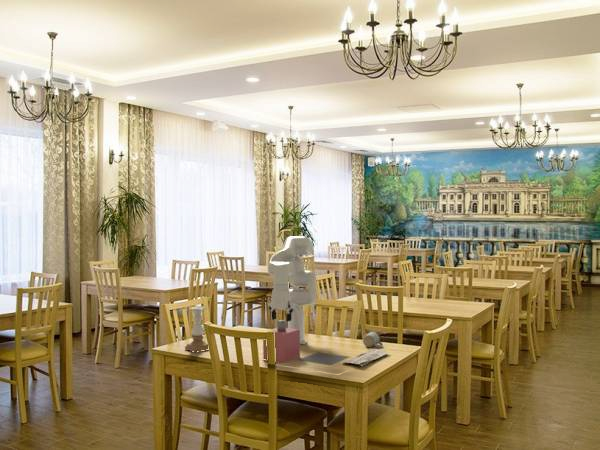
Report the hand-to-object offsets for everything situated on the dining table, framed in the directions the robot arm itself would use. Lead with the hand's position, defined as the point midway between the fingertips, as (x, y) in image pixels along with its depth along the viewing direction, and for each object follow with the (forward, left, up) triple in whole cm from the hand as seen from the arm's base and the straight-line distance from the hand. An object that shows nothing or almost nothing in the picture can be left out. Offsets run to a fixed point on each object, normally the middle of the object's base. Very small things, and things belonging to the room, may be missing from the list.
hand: (281, 320), depth 306 cm
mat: (+19, +11, -20) cm, 30 cm away
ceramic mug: (+26, +52, -21) cm, 62 cm away
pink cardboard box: (0, 0, -20) cm, 20 cm away
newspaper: (+38, +21, -21) cm, 49 cm away
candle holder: (-53, -7, -21) cm, 57 cm away
